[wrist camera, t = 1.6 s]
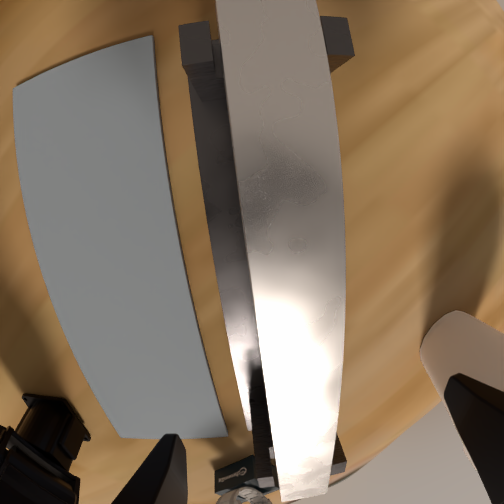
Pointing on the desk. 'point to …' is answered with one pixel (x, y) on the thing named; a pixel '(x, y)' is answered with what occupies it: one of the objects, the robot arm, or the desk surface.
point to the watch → (242, 483)
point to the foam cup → (463, 353)
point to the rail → (290, 223)
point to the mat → (114, 240)
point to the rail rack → (238, 220)
